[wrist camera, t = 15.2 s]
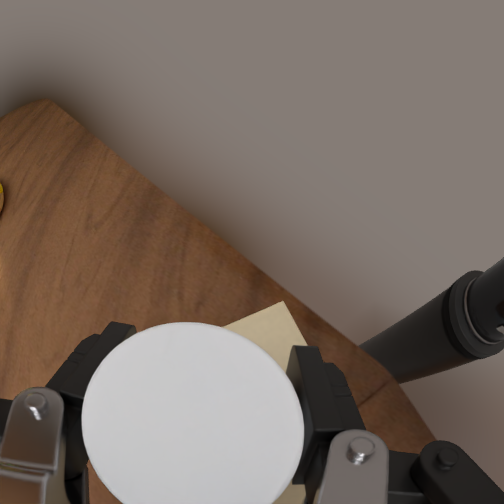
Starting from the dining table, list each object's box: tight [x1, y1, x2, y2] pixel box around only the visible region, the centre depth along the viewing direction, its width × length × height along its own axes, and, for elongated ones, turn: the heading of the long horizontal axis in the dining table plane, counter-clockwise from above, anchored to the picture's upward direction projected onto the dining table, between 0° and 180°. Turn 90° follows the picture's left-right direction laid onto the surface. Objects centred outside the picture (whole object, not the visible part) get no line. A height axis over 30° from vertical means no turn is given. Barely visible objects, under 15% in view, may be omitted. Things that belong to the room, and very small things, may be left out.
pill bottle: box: [82, 322, 304, 504], centre depth 8 cm, size 5×5×8 cm
